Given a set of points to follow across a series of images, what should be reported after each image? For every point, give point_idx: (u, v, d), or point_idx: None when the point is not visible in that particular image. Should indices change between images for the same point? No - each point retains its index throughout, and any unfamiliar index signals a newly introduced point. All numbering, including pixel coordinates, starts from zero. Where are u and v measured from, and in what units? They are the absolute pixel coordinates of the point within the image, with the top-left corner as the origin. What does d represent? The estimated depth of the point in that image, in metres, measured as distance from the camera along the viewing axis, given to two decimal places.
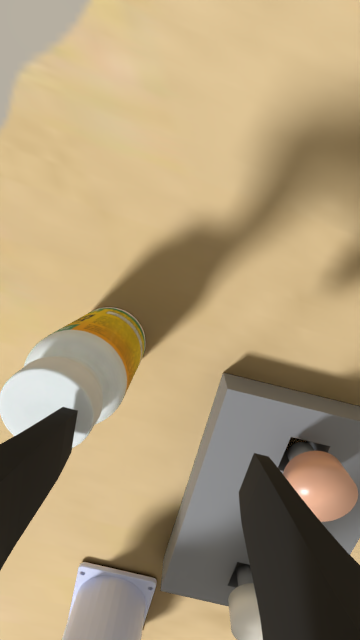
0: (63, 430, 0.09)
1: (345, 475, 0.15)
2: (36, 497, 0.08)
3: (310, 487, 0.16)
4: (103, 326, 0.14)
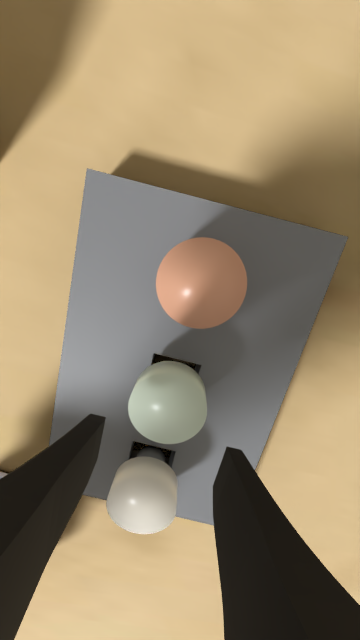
0: (94, 437, 0.09)
1: (226, 244, 0.11)
2: (70, 505, 0.08)
3: (179, 269, 0.11)
4: None
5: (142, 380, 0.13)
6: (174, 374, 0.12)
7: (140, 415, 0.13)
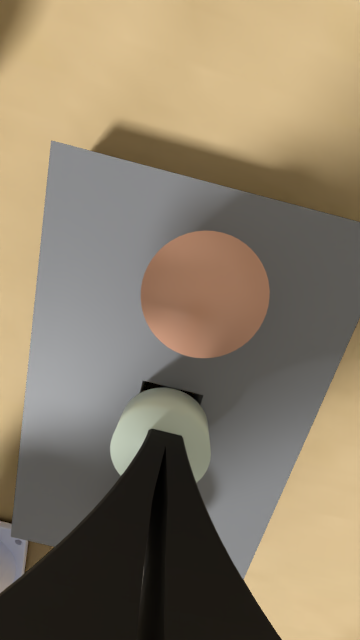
0: (163, 453, 0.09)
1: None
2: None
3: (173, 276, 0.08)
4: None
5: (128, 416, 0.10)
6: (168, 409, 0.10)
7: (126, 459, 0.10)
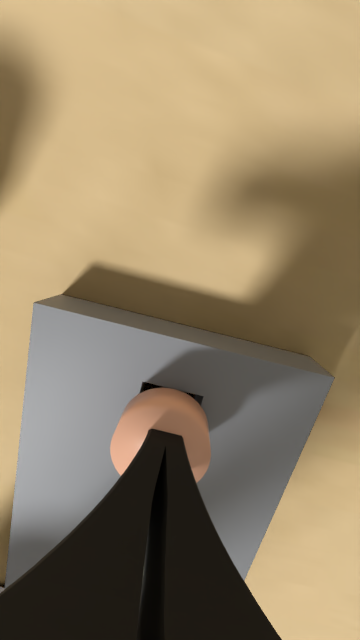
0: (163, 453, 0.09)
1: (185, 416, 0.10)
2: None
3: (135, 438, 0.10)
4: None
5: None
6: None
7: None
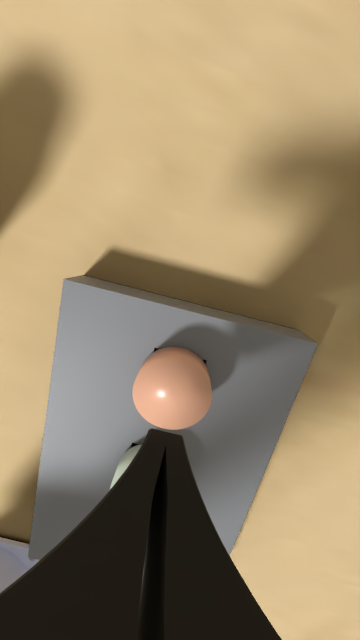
0: (163, 454, 0.09)
1: (192, 364, 0.12)
2: None
3: (152, 382, 0.13)
4: None
5: (122, 468, 0.14)
6: None
7: None
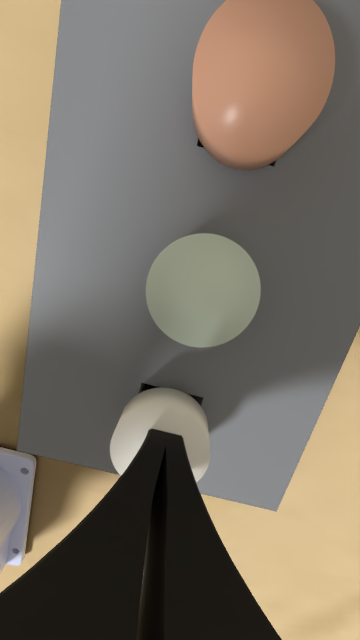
0: (163, 453, 0.09)
1: None
2: None
3: (230, 44, 0.07)
4: None
5: (167, 246, 0.09)
6: (215, 234, 0.08)
7: (163, 302, 0.09)
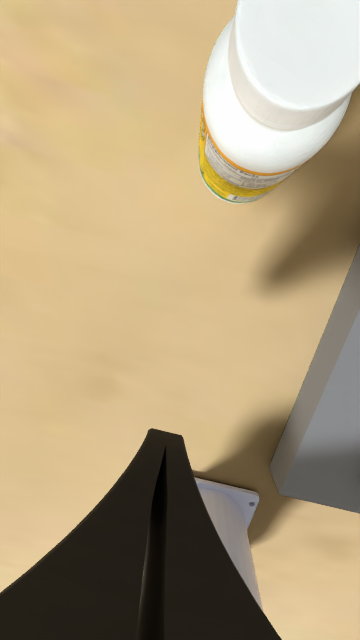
0: (163, 453, 0.09)
1: None
2: None
3: None
4: None
5: None
6: None
7: None
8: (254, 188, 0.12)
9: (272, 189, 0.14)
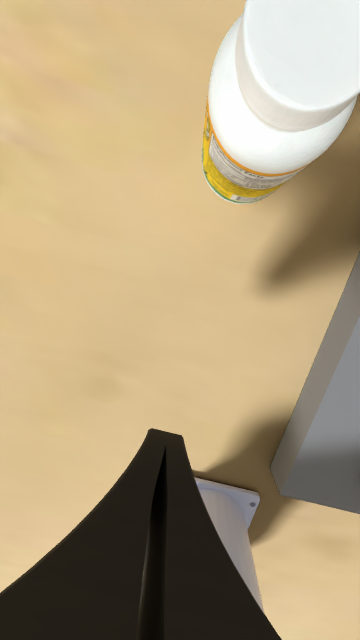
0: (163, 454, 0.09)
1: None
2: None
3: None
4: None
5: None
6: None
7: None
8: (258, 189, 0.12)
9: (275, 190, 0.14)
